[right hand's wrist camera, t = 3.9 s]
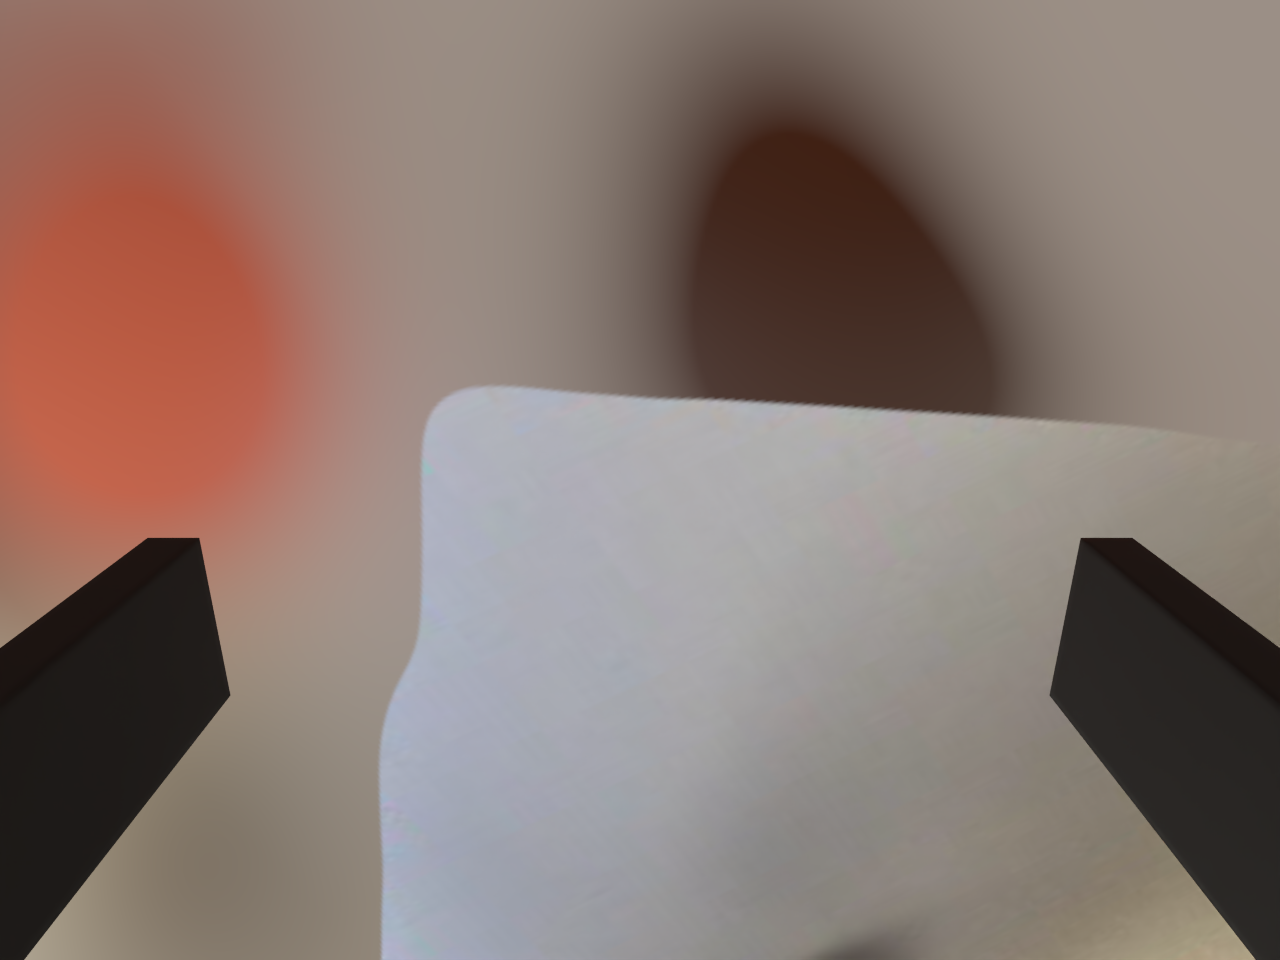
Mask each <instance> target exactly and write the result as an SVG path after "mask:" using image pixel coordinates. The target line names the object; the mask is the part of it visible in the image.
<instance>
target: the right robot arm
mask: <svg viewBox="0 0 1280 960" xmlns="http://www.w3.org/2000/svg"><path fill="white" fill-rule="evenodd" d="M229 696H230V691H229V686H228V681H227V676H226V671H225V666H224V661H223V656H222V651H221V646H220V641H219V636H218V631H217V626H216V620H215V615H214V610H213V605H212V600H211V595H210V590H209V585H208V580H207V575H206V570H205V565H204V560H203V555H202V550H201V545H200V540H199V538H147V539H146V540H144V541H143V542H142V543H140V544H139V545H138V546H136V547H135V548H134V549H132V550H131V551H130V552H128V553H127V554H126V555H124V556H123V557H122V558H120V559H119V560H118V561H116V562H115V563H114V564H112V565H111V566H110V567H108V568H107V569H106V570H104V571H103V572H102V573H100V574H99V575H97V576H96V577H95V578H94V579H92V580H91V581H89V582H88V583H87V584H85V585H84V586H83V587H81V588H80V589H79V590H77V591H76V592H75V593H73V594H72V595H71V596H69V597H68V598H67V599H65V600H64V601H63V602H61V603H60V604H59V605H57V606H56V607H55V608H53V609H52V610H51V611H49V612H48V613H47V614H45V615H44V616H43V617H41V618H40V619H39V620H37V621H36V622H35V623H33V624H32V625H31V626H29V627H28V628H27V629H25V630H24V631H23V632H21V633H20V634H18V635H17V636H16V637H15V638H13V639H12V640H10V641H9V642H8V643H6V644H5V645H4V646H2V647H1V648H0V960H24V959H25V958H26V957H27V955H28V954H29V953H30V951H31V950H32V949H33V948H34V946H35V945H36V944H37V942H38V941H39V940H40V939H41V937H42V936H43V935H44V934H45V932H46V931H47V930H48V928H49V927H50V926H51V925H52V923H53V922H54V921H55V919H56V918H57V917H58V916H59V914H60V913H61V912H62V911H63V909H64V908H65V907H66V905H67V904H68V903H69V902H70V900H71V899H72V898H73V896H74V895H75V894H76V893H77V891H78V890H79V889H80V887H81V886H82V885H83V884H84V882H85V881H86V880H87V878H88V877H89V876H90V875H91V873H92V872H93V871H94V869H95V868H96V867H97V866H98V864H99V863H100V862H101V860H102V859H103V858H104V857H105V855H106V854H107V853H108V852H109V850H110V849H111V848H112V846H113V845H114V844H115V843H116V841H117V840H118V839H119V837H120V836H121V835H122V834H123V832H124V831H125V830H126V828H127V827H128V826H129V825H130V823H131V822H132V821H133V820H134V818H135V817H136V816H137V814H138V813H139V812H140V811H141V809H142V808H143V807H144V805H145V804H146V803H147V802H148V800H149V799H150V798H151V796H152V795H153V794H154V793H155V791H156V790H157V789H158V787H159V786H160V785H161V784H162V782H163V781H164V780H165V778H166V777H167V776H168V775H169V773H170V772H171V771H172V770H173V768H174V767H175V766H176V764H177V763H178V762H179V761H180V759H181V758H182V757H183V755H184V754H185V753H186V752H187V750H188V749H189V748H190V746H191V745H192V744H193V743H194V741H195V740H196V739H197V737H198V736H199V735H200V734H201V732H202V731H203V730H204V728H205V727H206V726H207V725H208V723H209V722H210V721H211V720H212V718H213V717H214V716H215V714H216V713H217V712H218V710H219V709H220V708H221V707H222V705H223V704H224V703H225V701H226V700H227V699H228V698H229ZM1050 696H1051V698H1052V699H1053V700H1054V702H1055V703H1056V704H1057V705H1058V707H1059V708H1060V709H1061V711H1062V712H1063V713H1064V714H1065V716H1066V717H1067V718H1068V720H1069V721H1070V722H1071V723H1072V725H1073V726H1074V727H1075V729H1076V730H1077V731H1078V732H1079V734H1080V735H1081V736H1082V737H1083V739H1084V740H1085V741H1086V743H1087V744H1088V745H1089V746H1090V748H1091V749H1092V750H1093V752H1094V753H1095V754H1096V755H1097V757H1098V758H1099V759H1100V761H1101V762H1102V763H1103V764H1104V766H1105V767H1106V768H1107V770H1108V771H1109V772H1110V773H1111V775H1112V776H1113V777H1114V778H1115V780H1116V781H1117V782H1118V784H1119V785H1120V786H1121V787H1122V789H1123V790H1124V791H1125V793H1126V794H1127V795H1128V796H1129V798H1130V799H1131V800H1132V802H1133V803H1134V804H1135V805H1136V807H1137V808H1138V809H1139V811H1140V812H1141V813H1142V814H1143V816H1144V817H1145V818H1146V820H1147V821H1148V822H1149V823H1150V825H1151V826H1152V827H1153V828H1154V830H1155V831H1156V832H1157V834H1158V835H1159V836H1160V837H1161V839H1162V840H1163V841H1164V843H1165V844H1166V845H1167V846H1168V848H1169V849H1170V850H1171V852H1172V853H1173V854H1174V855H1175V857H1176V858H1177V859H1178V861H1179V862H1180V863H1181V864H1182V866H1183V867H1184V868H1185V869H1186V871H1187V872H1188V873H1189V875H1190V876H1191V877H1192V878H1193V880H1194V881H1195V882H1196V884H1197V885H1198V886H1199V887H1200V889H1201V890H1202V891H1203V893H1204V894H1205V895H1206V896H1207V898H1208V899H1209V900H1210V902H1211V903H1212V904H1213V905H1214V907H1215V908H1216V909H1217V911H1218V912H1219V913H1220V914H1221V916H1222V917H1223V918H1224V919H1225V921H1226V922H1227V923H1228V925H1229V926H1230V927H1231V928H1232V930H1233V931H1234V932H1235V934H1236V935H1237V936H1238V937H1239V939H1240V940H1241V941H1242V943H1243V944H1244V945H1245V946H1246V948H1247V949H1248V950H1249V952H1250V953H1251V954H1252V955H1253V957H1254V958H1255V959H1256V960H1280V648H1279V647H1278V646H1276V645H1275V644H1274V643H1272V642H1271V641H1270V640H1268V639H1267V638H1266V637H1264V636H1263V635H1262V634H1260V633H1259V632H1257V631H1256V630H1255V629H1253V628H1252V627H1251V626H1249V625H1248V624H1247V623H1245V622H1244V621H1243V620H1241V619H1240V618H1239V617H1237V616H1236V615H1235V614H1233V613H1232V612H1231V611H1229V610H1228V609H1227V608H1225V607H1224V606H1223V605H1221V604H1220V603H1219V602H1217V601H1216V600H1215V599H1213V598H1212V597H1211V596H1209V595H1208V594H1207V593H1205V592H1204V591H1203V590H1201V589H1200V588H1199V587H1197V586H1196V585H1195V584H1193V583H1192V582H1191V581H1189V580H1188V579H1187V578H1185V577H1184V576H1183V575H1181V574H1180V573H1178V572H1177V571H1176V570H1174V569H1173V568H1172V567H1170V566H1169V565H1168V564H1166V563H1165V562H1164V561H1162V560H1161V559H1160V558H1158V557H1157V556H1156V555H1154V554H1153V553H1152V552H1150V551H1149V550H1148V549H1146V548H1145V547H1144V546H1142V545H1141V544H1140V543H1138V542H1137V541H1136V540H1134V539H1133V538H1081V540H1080V545H1079V550H1078V555H1077V560H1076V565H1075V570H1074V575H1073V580H1072V585H1071V590H1070V595H1069V600H1068V605H1067V610H1066V615H1065V620H1064V626H1063V631H1062V636H1061V641H1060V646H1059V651H1058V656H1057V661H1056V666H1055V671H1054V676H1053V681H1052V686H1051V691H1050Z"/></svg>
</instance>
